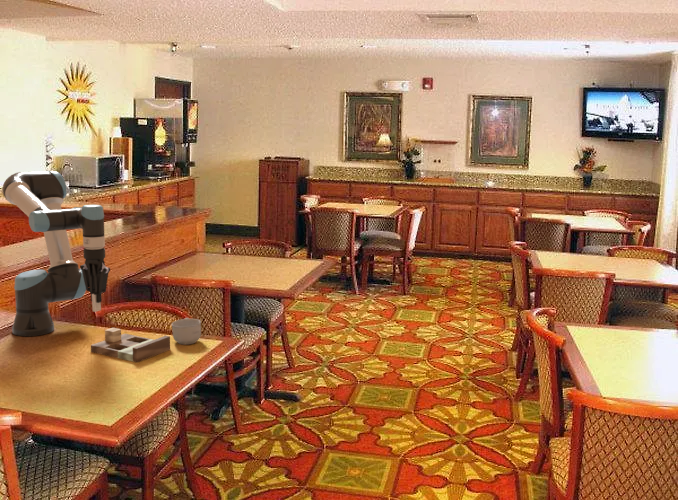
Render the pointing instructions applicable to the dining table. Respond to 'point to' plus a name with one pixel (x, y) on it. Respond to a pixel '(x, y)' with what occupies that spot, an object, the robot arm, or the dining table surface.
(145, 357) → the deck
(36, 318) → the robot arm
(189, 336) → the teacup
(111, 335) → the block
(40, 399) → the dining table surface
